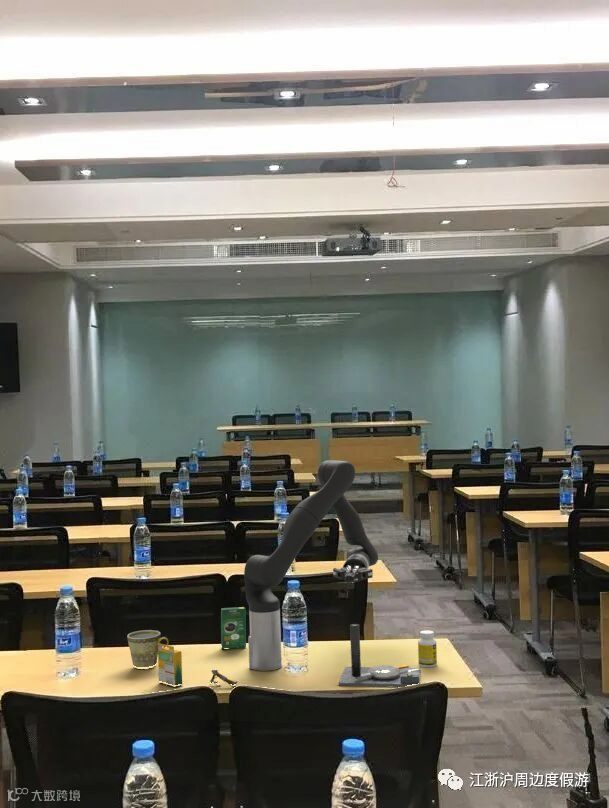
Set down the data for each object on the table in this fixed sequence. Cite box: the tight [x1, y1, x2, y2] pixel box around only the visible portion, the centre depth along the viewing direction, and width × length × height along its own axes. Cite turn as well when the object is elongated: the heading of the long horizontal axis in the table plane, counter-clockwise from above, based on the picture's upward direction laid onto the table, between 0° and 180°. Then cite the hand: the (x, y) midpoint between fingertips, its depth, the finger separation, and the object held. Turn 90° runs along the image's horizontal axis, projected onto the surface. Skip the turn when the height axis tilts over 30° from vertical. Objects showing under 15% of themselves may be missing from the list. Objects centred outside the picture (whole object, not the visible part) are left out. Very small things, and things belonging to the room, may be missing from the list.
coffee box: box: [220, 606, 247, 649], centre depth 278 cm, size 8×3×13 cm, turn 103°
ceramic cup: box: [126, 629, 170, 667], centre depth 260 cm, size 13×10×10 cm
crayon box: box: [157, 642, 183, 685], centre depth 242 cm, size 7×3×12 cm, turn 48°
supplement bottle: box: [417, 629, 438, 668], centre depth 252 cm, size 5×5×10 cm
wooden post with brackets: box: [209, 669, 238, 685], centre depth 239 cm, size 2×8×4 cm, turn 69°
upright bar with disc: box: [349, 623, 410, 680], centre depth 241 cm, size 18×9×15 cm, turn 117°
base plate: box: [338, 666, 422, 688], centre depth 242 cm, size 22×15×4 cm
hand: (349, 579), depth 255 cm, fingers closed
